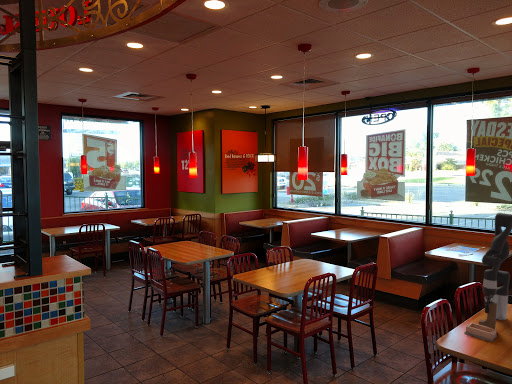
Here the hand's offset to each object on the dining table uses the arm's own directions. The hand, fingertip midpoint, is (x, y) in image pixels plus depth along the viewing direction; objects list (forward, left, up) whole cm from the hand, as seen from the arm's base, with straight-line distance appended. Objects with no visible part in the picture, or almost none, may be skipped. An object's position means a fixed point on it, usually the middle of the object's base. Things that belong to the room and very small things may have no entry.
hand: (487, 311), depth 248 cm
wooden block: (0, 0, -12) cm, 12 cm away
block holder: (+13, 0, -11) cm, 17 cm away
